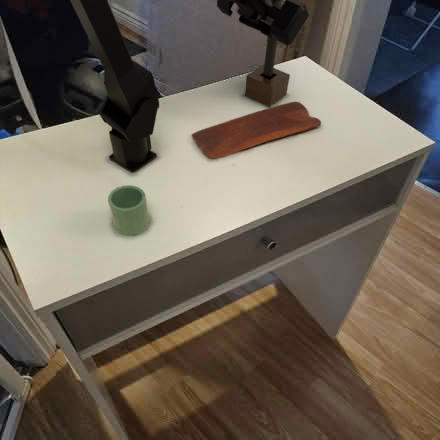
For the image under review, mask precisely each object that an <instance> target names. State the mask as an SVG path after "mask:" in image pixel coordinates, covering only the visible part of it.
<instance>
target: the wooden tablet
mask: <svg viewBox="0 0 440 440" xmlns="http://www.w3.org/2000/svg"><path fill="white" fill-rule="evenodd" d="M320 126H322V121H321V119H319V118H318V117H313V116H310V114H309V111H308V109H307V107H306V106H305V105H304V104H303V103H301V102H299V101H291V102H286V103H282V104H278V105H275V106H271V107H268V108H265V109H262V110H257V111H255V112H252V113H248V114H246V115H242V116H240V117H239V116H238V117H235V118H233V119H230V120H227V121H224V122H221V123H217V124H214V125H210V126H209V127H206V128H203V129H200V130H198V131H195V132H194V133H191V137H192V139H193V140H194V142H195V143H196V145H197V146H198V148H200V150H201V152H202V153H203V154H204V155H205V156H206V157H207V158H208V159H216V158H222V157H225V156H227V155H231V154H234V153H236V152H240V151H242V150H245V149H248V148H251V147H254V146H257V145H261V144H263V143H266V142H269V141H273V140H276V139H279V138H283V137H287V136H290V135H294V134H298V133H302V132H305V131H309V130H312V129H315V128H317V127H320Z"/></svg>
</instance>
